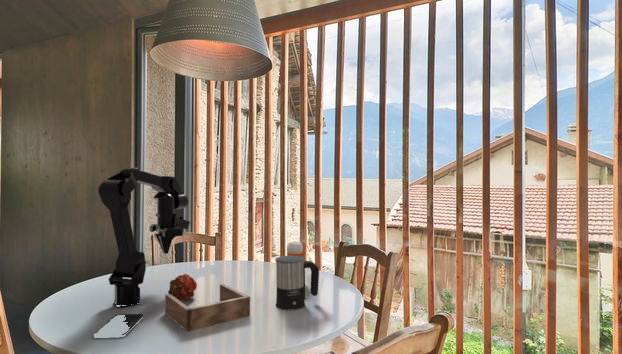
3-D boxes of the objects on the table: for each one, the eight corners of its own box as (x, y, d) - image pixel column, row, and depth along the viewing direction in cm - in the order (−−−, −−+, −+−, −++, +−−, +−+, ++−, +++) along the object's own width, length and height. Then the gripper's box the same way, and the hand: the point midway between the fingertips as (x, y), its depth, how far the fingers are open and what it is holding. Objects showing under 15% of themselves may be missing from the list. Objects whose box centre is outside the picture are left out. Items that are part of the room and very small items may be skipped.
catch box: (187, 331, 100) (187, 310, 100) (165, 313, 114) (165, 294, 114) (249, 315, 112) (250, 296, 112) (223, 300, 125) (223, 283, 125)
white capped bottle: (302, 285, 144) (302, 244, 144) (286, 285, 144) (286, 244, 144) (303, 280, 150) (303, 241, 150) (287, 280, 150) (287, 241, 150)
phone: (91, 335, 95) (116, 314, 110) (91, 340, 95) (116, 318, 110) (124, 335, 96) (145, 313, 111) (124, 339, 96) (144, 317, 111)
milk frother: (285, 313, 114) (285, 262, 114) (259, 299, 127) (259, 254, 127) (323, 304, 122) (323, 257, 122) (295, 291, 135) (295, 249, 135)
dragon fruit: (177, 310, 121) (182, 303, 133) (200, 292, 123) (203, 287, 135) (160, 288, 121) (167, 283, 133) (184, 270, 123) (189, 267, 135)
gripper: (197, 211, 139) (197, 254, 139) (178, 208, 154) (178, 247, 154) (165, 213, 132) (165, 258, 132) (149, 209, 147) (149, 250, 147)
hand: (165, 253), depth 141 cm, fingers closed
